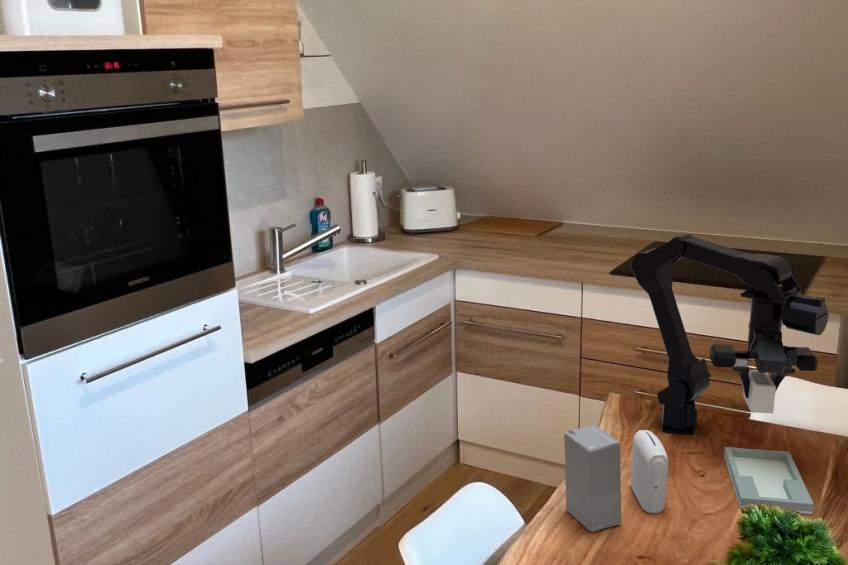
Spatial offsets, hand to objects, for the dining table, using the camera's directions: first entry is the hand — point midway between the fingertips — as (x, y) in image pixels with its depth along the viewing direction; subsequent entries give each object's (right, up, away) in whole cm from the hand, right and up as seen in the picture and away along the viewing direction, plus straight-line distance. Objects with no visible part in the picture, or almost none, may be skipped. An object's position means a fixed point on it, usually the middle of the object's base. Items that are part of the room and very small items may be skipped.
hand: (758, 397), depth 160 cm
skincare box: (-36, -19, -17) cm, 44 cm away
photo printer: (-25, -17, -11) cm, 32 cm away
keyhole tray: (-2, -15, -7) cm, 17 cm away
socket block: (0, -1, 0) cm, 1 cm away
